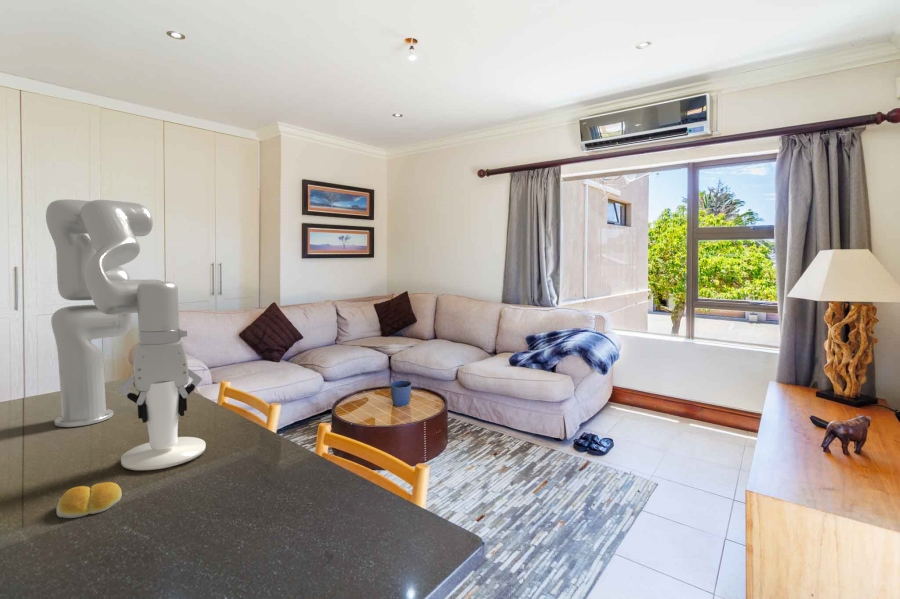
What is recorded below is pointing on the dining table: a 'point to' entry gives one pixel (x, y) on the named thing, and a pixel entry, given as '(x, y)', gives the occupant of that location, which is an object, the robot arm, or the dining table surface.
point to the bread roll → (88, 500)
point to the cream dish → (163, 454)
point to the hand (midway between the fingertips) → (163, 417)
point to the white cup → (162, 414)
